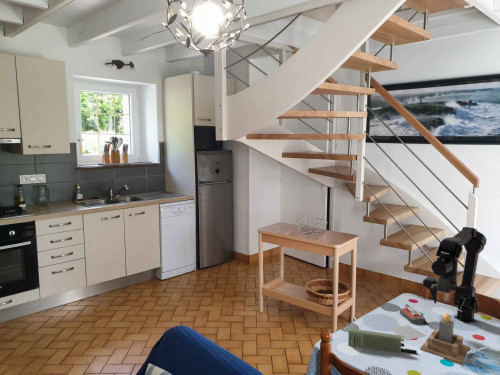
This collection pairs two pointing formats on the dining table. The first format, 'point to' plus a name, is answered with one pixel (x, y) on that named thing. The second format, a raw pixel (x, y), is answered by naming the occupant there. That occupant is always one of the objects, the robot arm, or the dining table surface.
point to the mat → (407, 332)
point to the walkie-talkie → (412, 315)
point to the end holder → (446, 347)
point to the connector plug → (446, 329)
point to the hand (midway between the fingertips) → (447, 306)
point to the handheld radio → (377, 341)
